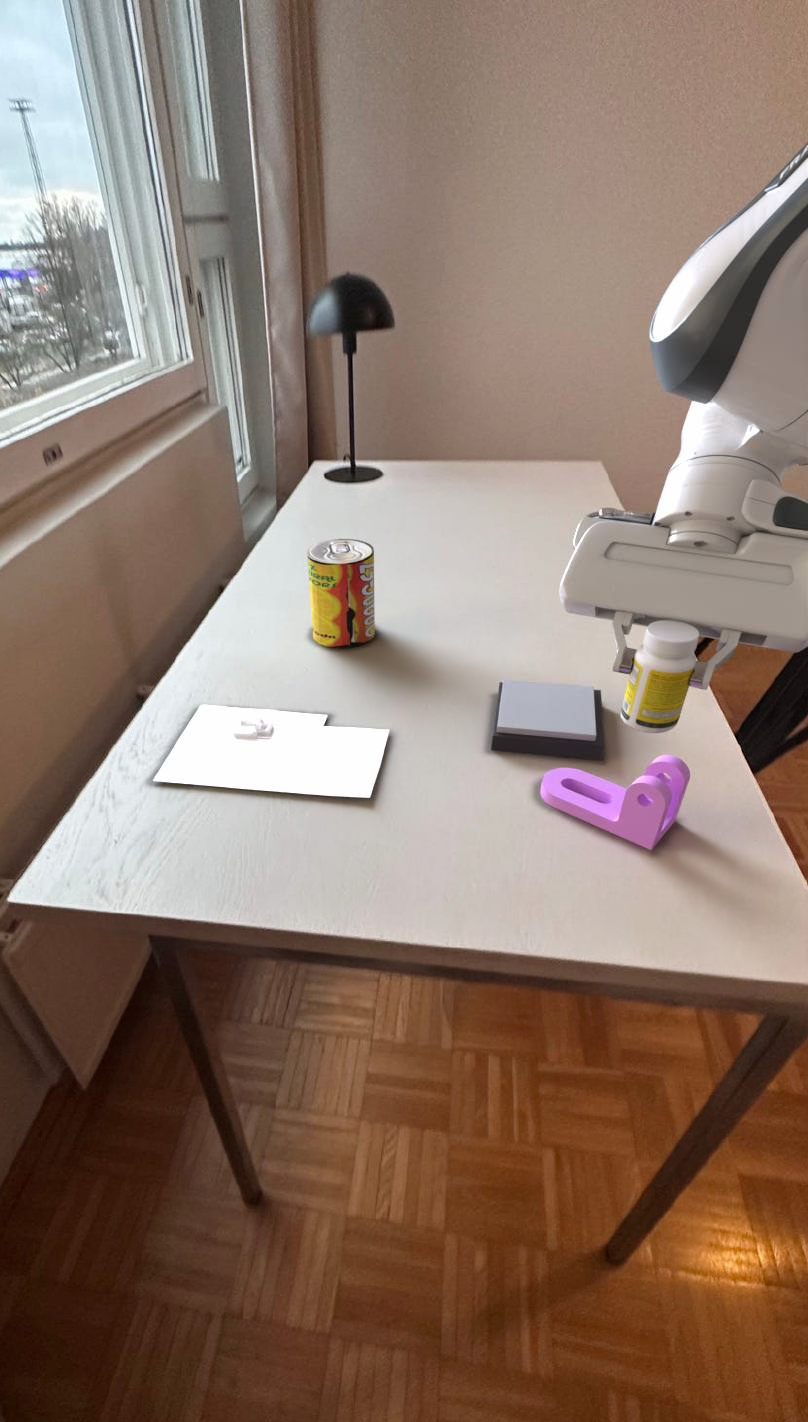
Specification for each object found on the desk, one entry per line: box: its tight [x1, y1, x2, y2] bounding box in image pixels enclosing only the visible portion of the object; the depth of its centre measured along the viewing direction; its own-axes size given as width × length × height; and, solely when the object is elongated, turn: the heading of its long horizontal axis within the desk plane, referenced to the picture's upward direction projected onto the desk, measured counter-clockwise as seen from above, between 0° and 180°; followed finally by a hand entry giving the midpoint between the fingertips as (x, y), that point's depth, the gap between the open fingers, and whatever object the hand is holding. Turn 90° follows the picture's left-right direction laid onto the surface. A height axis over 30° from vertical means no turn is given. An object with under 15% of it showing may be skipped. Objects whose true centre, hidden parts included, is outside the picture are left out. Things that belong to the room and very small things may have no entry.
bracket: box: [539, 754, 691, 851], centre depth 72 cm, size 13×6×7 cm, turn 48°
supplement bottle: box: [620, 620, 700, 734], centre depth 61 cm, size 5×5×8 cm
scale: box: [490, 679, 606, 761], centre depth 85 cm, size 12×12×3 cm
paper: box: [152, 704, 390, 799], centre depth 84 cm, size 25×17×1 cm
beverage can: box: [306, 538, 376, 649], centre depth 102 cm, size 9×9×12 cm
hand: (659, 678), depth 61 cm, fingers closed on supplement bottle, 5 cm apart
